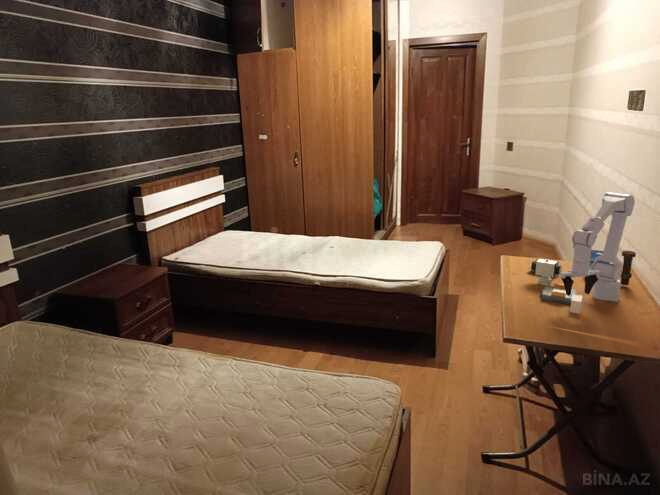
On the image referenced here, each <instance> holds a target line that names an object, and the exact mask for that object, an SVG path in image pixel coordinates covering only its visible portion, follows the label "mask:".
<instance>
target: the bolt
mask: <svg viewBox="0 0 660 495" xmlns="http://www.w3.org/2000/svg"><path fill="white" fill-rule="evenodd" d="M636 254H637V252H636V251H632V250H622V251H621V256H622V257H623V261H622V263H623V264H622V274H621V276H620V280H621V284H620V285H622V286H629V284H630V279H631V278H632V275H633V273H632V272H631V270H632V263H633V258H636Z"/></svg>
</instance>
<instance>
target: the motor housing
mask: <svg viewBox="0 0 660 495" xmlns="http://www.w3.org/2000/svg"><path fill="white" fill-rule="evenodd" d="M573 294H574V295H577V289H575V288H572V289H571V295H570V296H568V295H567V294H566V291H565V286H564V283H556V282H554V284H553V285H549V286H546V285H544V288H543V289H542V288H541V292H540V297H541V301H546V302H553V303H560V304H564V305H565V304H566V305H571V300H572V295H573Z"/></svg>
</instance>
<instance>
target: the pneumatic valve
mask: <svg viewBox="0 0 660 495" xmlns="http://www.w3.org/2000/svg"><path fill="white" fill-rule="evenodd" d="M530 267H531V269H530V270H531V271H532V272H533V275H535V276H540V277H538V280H537V282H538V284H539V285H541V286H545V285H546V286H550V285H552V283H553V279H555V278H556V277H557V276H560V273H561V272H562V270H563V269H562V265H560V262H559V261H556V260H550V259H548V258H546V259H543V258H537V259H536V260H535V261H532V263H531V266H530ZM552 278H553V279H552Z"/></svg>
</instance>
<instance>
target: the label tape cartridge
mask: <svg viewBox="0 0 660 495" xmlns="http://www.w3.org/2000/svg"><path fill="white" fill-rule="evenodd" d="M603 251H604V250H598V249H597V250H595V249H591V256H590V264H589V270H591V267H592V265H593V263H594V261H595V258H596V257H598V256H600V255H601V254H603ZM599 253H600V254H599ZM602 262H605V263H610V262H606V261H602ZM610 264H611V263H610Z"/></svg>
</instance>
